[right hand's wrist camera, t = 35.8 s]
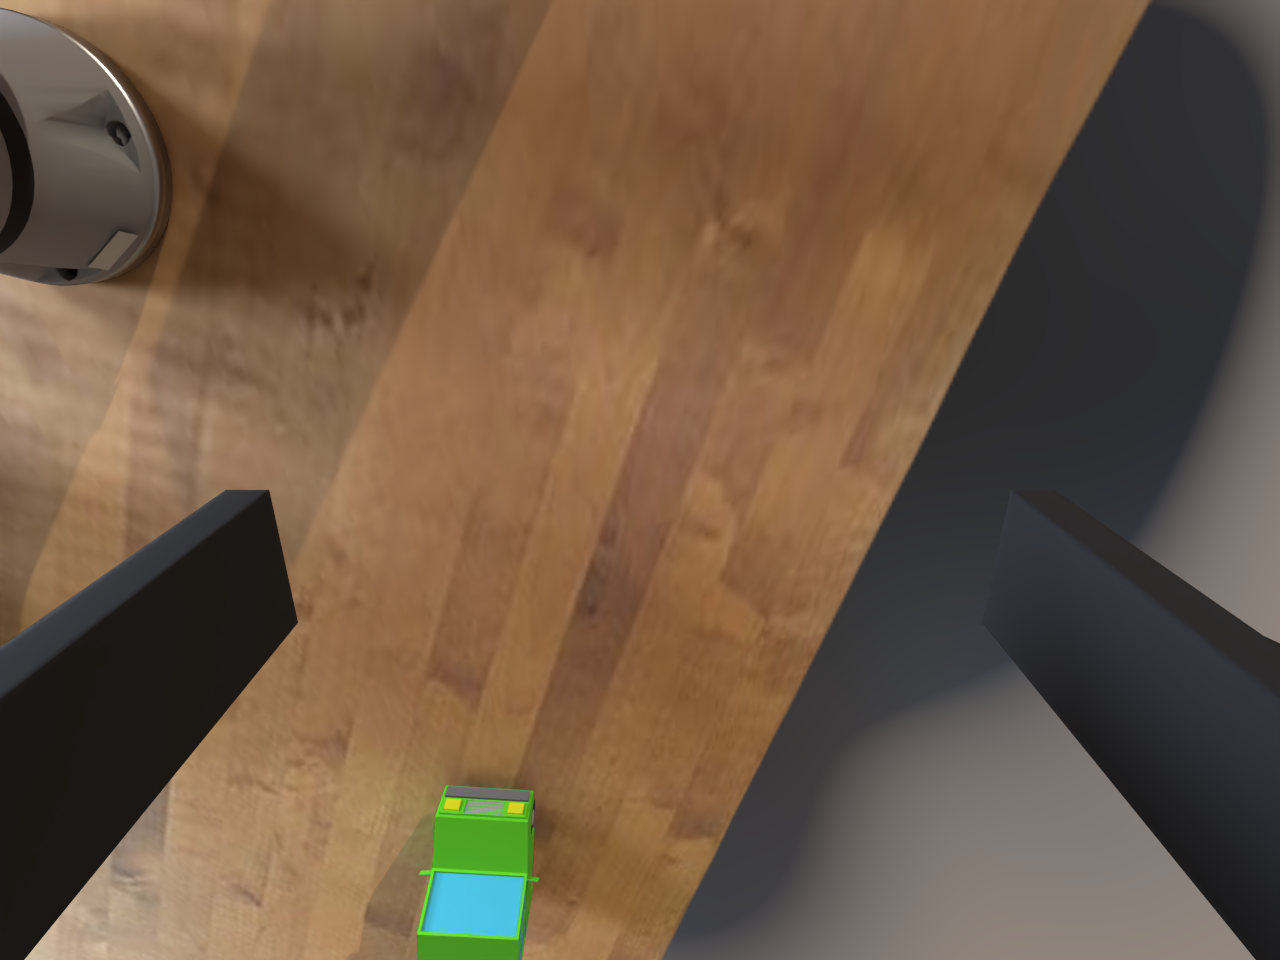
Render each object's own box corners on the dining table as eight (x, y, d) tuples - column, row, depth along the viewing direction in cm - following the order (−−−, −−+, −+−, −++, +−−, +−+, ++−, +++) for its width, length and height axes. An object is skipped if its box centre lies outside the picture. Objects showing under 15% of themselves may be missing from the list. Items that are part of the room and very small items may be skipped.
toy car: (549, 777, 62) (533, 877, 53) (544, 881, 67) (529, 990, 58) (435, 770, 62) (399, 870, 53) (439, 875, 67) (407, 983, 58)
